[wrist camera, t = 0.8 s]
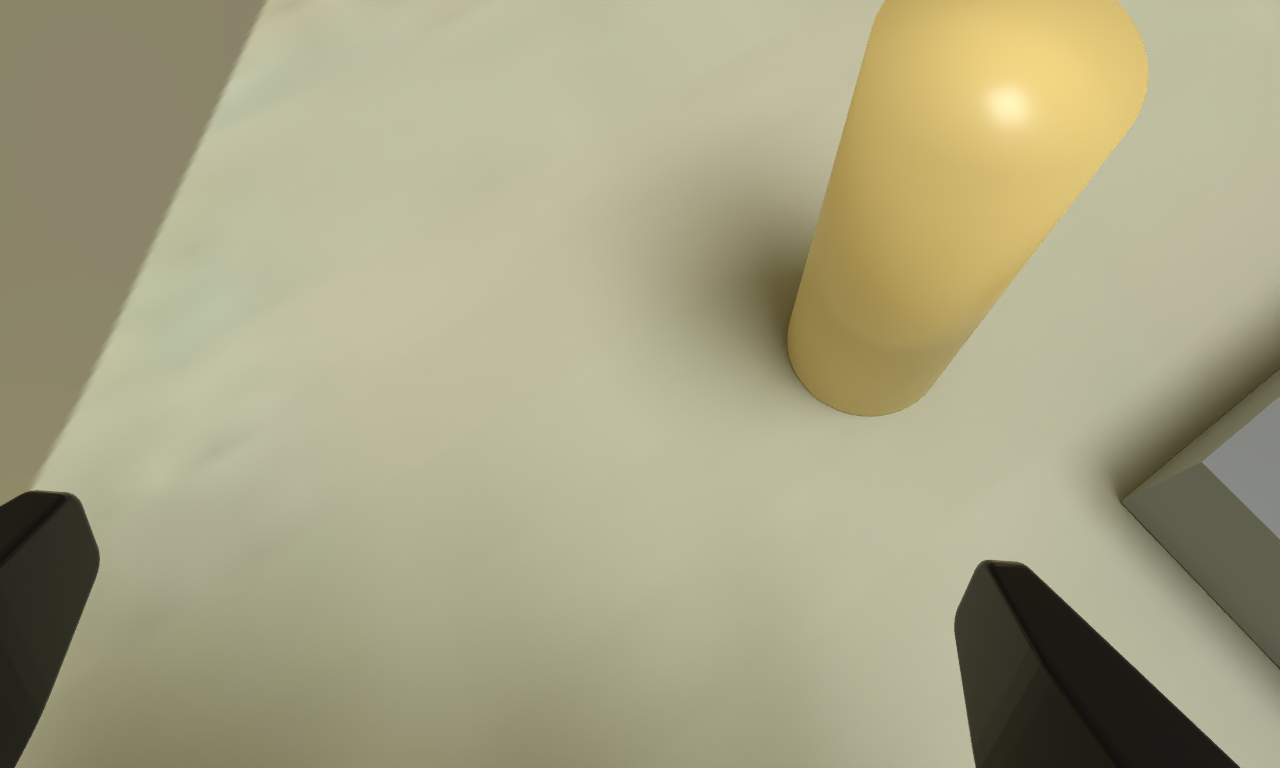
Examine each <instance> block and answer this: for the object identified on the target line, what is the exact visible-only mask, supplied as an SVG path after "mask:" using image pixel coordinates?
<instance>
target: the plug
mask: <svg viewBox="0 0 1280 768" xmlns="http://www.w3.org/2000/svg"><path fill="white" fill-rule="evenodd" d="M1147 86H1148V62H1147V55H1146V51H1145V48H1144V44H1143V41H1142V39H1141V36H1140V34H1139V32H1138V30H1137V28H1136V26H1135V24H1134V23H1133V21H1132V20H1131V18H1130V17H1129V15H1128V13H1127V12H1126V11H1125V10H1124V9H1123V7H1122V6H1121V5H1120V4H1119V3H1118V1H1117V0H885V1H884V3H883V4H882V6H881V8H880V10H879V12H878V14H877V15H876V18H875V21H874V24H873V27H872V30H871V33H870V37H869V40H868V44H867V47H866V51H865V54H864V58H863V62H862V65H861V69H860V72H859V76H858V79H857V83H856V87H855V90H854V94H853V97H852V101H851V104H850V108H849V112H848V115H847V119H846V122H845V126H844V129H843V133H842V137H841V140H840V144H839V147H838V151H837V154H836V158H835V162H834V165H833V169H832V172H831V176H830V179H829V183H828V186H827V190H826V194H825V197H824V201H823V204H822V208H821V211H820V215H819V219H818V222H817V226H816V229H815V233H814V236H813V240H812V244H811V247H810V251H809V254H808V258H807V261H806V265H805V269H804V272H803V276H802V279H801V283H800V286H799V290H798V294H797V297H796V301H795V304H794V308H793V311H792V315H791V319H790V322H789V326H788V332H787V348H788V354H789V358H790V362H791V364H792V366H793V369H794V371H795V373H796V375H797V376H798V378H799V380H800V381H801V382H802V383H803V385H804V386H805V387H806V388H807V389H808V390H809V391H810V392H811V393H812V394H813V395H814V396H815V397H816V398H818V399H819V400H820V401H822V402H824V403H825V404H827V405H828V406H830V407H833V408H835V409H837V410H839V411H842V412H845V413H849V414H854V415H859V416H881V415H887V414H891V413H895V412H898V411H901V410H903V409H905V408H907V407H909V406H911V405H912V404H914V403H915V402H917V401H918V400H919V399H920V398H921V397H923V396H924V395H925V394H926V393H927V391H928V390H929V389H930V388H931V387H932V385H933V384H934V383H935V381H936V380H937V379H938V377H939V376H940V375H941V374H942V372H943V371H944V370H945V368H946V367H947V366H948V364H949V363H950V362H951V360H952V359H953V358H954V357H955V355H956V354H957V353H958V351H959V350H960V349H961V347H962V346H963V345H964V344H965V342H966V341H967V340H968V338H969V337H970V336H971V334H972V333H973V332H974V330H975V329H976V328H977V327H978V325H979V324H980V323H981V321H982V320H983V319H984V317H985V316H986V315H987V314H988V312H989V311H990V310H991V308H992V307H993V306H994V304H995V303H996V302H997V300H998V299H999V298H1000V297H1001V295H1002V294H1003V293H1004V291H1005V290H1006V289H1007V287H1008V286H1009V285H1010V283H1011V282H1012V281H1013V280H1014V278H1015V277H1016V276H1017V274H1018V273H1019V272H1020V270H1021V269H1022V268H1023V267H1024V265H1025V264H1026V263H1027V261H1028V260H1029V259H1030V257H1031V256H1032V255H1033V253H1034V252H1035V251H1036V250H1037V248H1038V247H1039V246H1040V244H1041V243H1042V242H1043V240H1044V239H1045V238H1046V237H1047V235H1048V234H1049V233H1050V231H1051V230H1052V229H1053V227H1054V226H1055V225H1056V223H1057V222H1058V221H1059V220H1060V218H1061V217H1062V216H1063V214H1064V213H1065V212H1066V210H1067V209H1068V208H1069V206H1070V205H1071V204H1072V203H1073V201H1074V200H1075V199H1076V197H1077V196H1078V195H1079V193H1080V192H1081V191H1082V190H1083V188H1084V187H1085V186H1086V184H1087V183H1088V182H1089V180H1090V179H1091V178H1092V176H1093V175H1094V174H1095V173H1096V171H1097V170H1098V169H1099V167H1100V166H1101V165H1102V163H1103V162H1104V161H1105V160H1106V158H1107V157H1108V156H1109V154H1110V153H1111V152H1112V150H1113V149H1114V148H1115V146H1116V145H1117V144H1118V143H1119V141H1120V140H1121V139H1122V137H1123V136H1124V135H1125V133H1126V132H1127V131H1128V129H1129V128H1130V127H1131V126H1132V124H1133V122H1134V121H1135V119H1136V117H1137V116H1138V114H1139V112H1140V110H1141V107H1142V105H1143V102H1144V100H1145V96H1146V91H1147Z"/></svg>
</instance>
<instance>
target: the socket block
mask: <svg viewBox="0 0 1280 768" xmlns="http://www.w3.org/2000/svg"><path fill="white" fill-rule="evenodd" d="M1120 502H1121V503H1122V504H1123V505H1124V506H1125V507H1126V508H1127V509H1128V510H1129V511H1130V512H1131V513H1132V514H1133V515H1134V516H1135V517H1136V518H1137V519H1138V520H1139V522H1140V523H1141V524H1142V525H1143V526H1144V527H1145V528H1146V529H1147V530H1148V531H1149V532H1150V533H1151V534H1152V535H1153V536H1154V537H1155V538H1156V539H1157V540H1158V541H1159V542H1160V543H1161V545H1162V546H1163V547H1164V548H1165V549H1166V550H1167V551H1168V552H1169V553H1170V554H1171V555H1172V556H1173V557H1174V558H1175V559H1176V560H1177V561H1178V562H1179V563H1180V564H1181V565H1182V566H1183V568H1184V569H1185V570H1186V571H1187V572H1188V573H1189V574H1190V575H1191V576H1192V577H1193V578H1194V579H1195V580H1196V581H1197V582H1198V583H1199V584H1200V585H1201V586H1202V587H1203V588H1204V589H1205V590H1206V592H1207V593H1208V594H1209V595H1210V596H1211V597H1212V598H1213V599H1214V600H1215V601H1216V602H1217V603H1218V604H1219V605H1220V606H1221V607H1222V608H1223V609H1224V610H1225V611H1226V612H1227V613H1228V615H1229V616H1230V617H1231V618H1232V619H1233V620H1234V621H1235V622H1236V623H1237V624H1238V625H1239V626H1240V627H1241V628H1242V629H1243V630H1244V631H1245V632H1246V633H1247V634H1248V635H1249V636H1250V638H1251V639H1252V640H1253V641H1254V642H1255V643H1256V644H1257V645H1258V646H1259V647H1260V648H1261V649H1262V650H1263V651H1264V652H1265V653H1266V654H1267V655H1268V656H1269V657H1270V658H1271V659H1272V660H1273V662H1274V663H1275V664H1276V665H1277V666H1278V667H1279V668H1280V369H1279V370H1278V371H1276V372H1275V373H1274V374H1273V375H1272V376H1270V377H1269V378H1268V379H1267V380H1266V381H1264V382H1263V383H1262V384H1261V385H1260V386H1258V387H1257V388H1256V389H1255V390H1254V391H1252V392H1251V393H1250V394H1249V395H1248V396H1246V397H1245V398H1244V399H1243V400H1242V401H1240V402H1239V403H1238V404H1237V405H1236V406H1234V407H1233V408H1232V409H1231V410H1230V411H1228V412H1227V413H1226V414H1225V415H1224V416H1222V417H1221V418H1220V419H1219V420H1218V421H1216V422H1215V423H1214V424H1213V425H1212V426H1210V427H1209V428H1208V429H1207V430H1206V431H1204V432H1203V433H1202V434H1201V435H1200V436H1198V437H1197V438H1196V439H1195V440H1194V441H1192V442H1191V443H1190V444H1189V445H1188V446H1186V447H1185V448H1184V449H1183V450H1182V451H1180V452H1179V453H1178V454H1177V455H1176V456H1174V457H1173V458H1172V459H1171V460H1170V461H1168V462H1167V463H1166V464H1165V465H1164V466H1162V467H1161V468H1160V469H1159V470H1158V471H1156V472H1155V473H1154V474H1153V475H1152V476H1150V477H1149V478H1148V479H1147V480H1146V481H1144V482H1143V483H1142V484H1141V485H1140V486H1138V487H1137V488H1136V489H1135V490H1134V491H1132V492H1131V493H1130V494H1129V495H1128V496H1126V497H1125V498H1124V499H1123V500H1122V501H1120Z"/></svg>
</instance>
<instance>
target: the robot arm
mask: <svg viewBox="0 0 1280 768" xmlns="http://www.w3.org/2000/svg"><path fill="white" fill-rule="evenodd" d="M99 562H100V556H99V549H98V546H97V543H96V541H95V538H94V535H93V533H92V530H91V527H90V525H89V522H88V519H87V517H86V514H85V511H84V508H83V506H82V503H81V501H80V500H79V499H78V498H77V497H76V496H75V495H74V494H70V493H66V492H52V491H38V490H35V491H28V492H26V493H23V494H21V495H19V496H17V497H16V498H14V499H12V500H10V501H9V502H7V503H5V504H4V505H2V506H0V768H15V766H16V764H17V762H18V760H19V758H20V757H21V755H22V753H23V751H24V749H25V747H26V745H27V743H28V741H29V739H30V737H31V735H32V733H33V731H34V729H35V727H36V725H37V723H38V721H39V719H40V717H41V715H42V712H43V710H44V708H45V705H46V703H47V701H48V698H49V696H50V694H51V691H52V689H53V686H54V684H55V681H56V678H57V676H58V673H59V671H60V668H61V666H62V663H63V661H64V658H65V656H66V653H67V650H68V648H69V645H70V643H71V640H72V638H73V635H74V633H75V630H76V627H77V625H78V622H79V620H80V617H81V615H82V612H83V610H84V607H85V605H86V602H87V599H88V597H89V594H90V592H91V589H92V587H93V584H94V582H95V579H96V576H97V573H98V569H99ZM954 631H955V639H956V646H957V652H958V659H959V665H960V672H961V678H962V685H963V691H964V698H965V704H966V711H967V717H968V724H969V730H970V737H971V743H972V749H973V755H974V761H975V766H976V768H1240V767H1239V766H1238V765H1237V764H1236V763H1235V762H1234V761H1233V760H1232V759H1231V758H1230V757H1229V756H1228V755H1227V754H1226V753H1224V752H1223V751H1222V750H1221V749H1220V748H1219V747H1218V746H1217V745H1216V744H1215V743H1214V742H1213V741H1212V740H1211V739H1210V738H1209V737H1208V736H1206V735H1205V734H1204V733H1203V732H1202V731H1201V730H1200V729H1199V728H1198V727H1197V726H1196V725H1195V724H1194V723H1193V722H1192V721H1191V720H1190V719H1188V718H1187V717H1186V716H1185V715H1184V714H1183V713H1182V712H1181V711H1180V710H1179V709H1178V708H1177V707H1176V706H1175V705H1174V704H1173V703H1172V702H1171V701H1169V700H1168V699H1167V698H1166V697H1165V696H1164V695H1163V694H1162V693H1161V692H1160V691H1159V690H1158V689H1157V688H1156V687H1155V686H1154V685H1153V684H1151V683H1150V682H1149V681H1148V680H1147V679H1146V678H1145V677H1144V676H1143V675H1142V674H1141V673H1140V672H1139V671H1138V670H1137V669H1136V668H1135V667H1133V666H1132V665H1131V664H1130V663H1129V662H1128V661H1127V660H1126V659H1125V658H1124V657H1123V656H1122V655H1121V654H1120V653H1119V652H1118V651H1117V650H1116V649H1114V648H1113V647H1112V646H1111V645H1110V644H1109V643H1108V642H1107V641H1106V640H1105V639H1104V638H1103V637H1102V636H1101V635H1100V634H1099V633H1098V632H1096V631H1095V630H1094V629H1093V628H1092V627H1091V626H1090V625H1089V624H1088V623H1087V622H1086V621H1085V620H1084V619H1083V618H1082V617H1081V616H1080V615H1078V614H1077V613H1076V612H1075V611H1074V610H1073V609H1072V608H1071V607H1070V606H1069V605H1068V604H1067V603H1066V602H1065V601H1064V600H1063V599H1062V598H1061V597H1059V596H1058V595H1057V594H1056V593H1055V592H1054V591H1053V590H1052V589H1051V588H1050V587H1049V586H1048V585H1047V584H1046V583H1045V582H1044V581H1043V580H1041V579H1040V578H1039V577H1038V576H1037V575H1036V574H1035V573H1034V572H1033V571H1032V570H1031V569H1030V568H1028V567H1027V566H1026V565H1024V564H1022V563H1019V562H1012V561H999V560H985V561H982V562H981V563H980V564H979V565H978V566H977V568H976V569H975V571H974V573H973V576H972V578H971V580H970V582H969V584H968V587H967V589H966V591H965V593H964V595H963V598H962V600H961V602H960V604H959V606H958V609H957V612H956V616H955V623H954Z"/></svg>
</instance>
